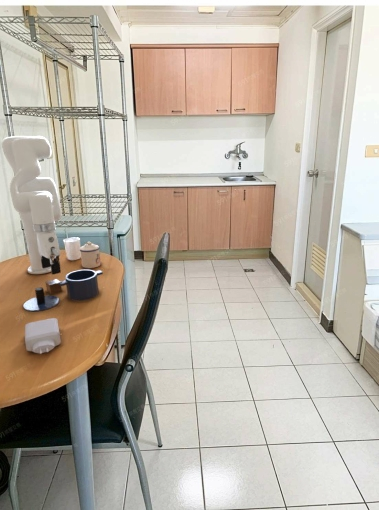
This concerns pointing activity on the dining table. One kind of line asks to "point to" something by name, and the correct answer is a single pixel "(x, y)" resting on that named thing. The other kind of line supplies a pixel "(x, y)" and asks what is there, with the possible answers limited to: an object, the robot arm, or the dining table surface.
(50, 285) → the block
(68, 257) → the white cup
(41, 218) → the robot arm
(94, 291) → the pot
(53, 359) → the dining table surface
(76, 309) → the dining table surface
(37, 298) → the pot lid
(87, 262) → the teacup with lid
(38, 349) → the charger
